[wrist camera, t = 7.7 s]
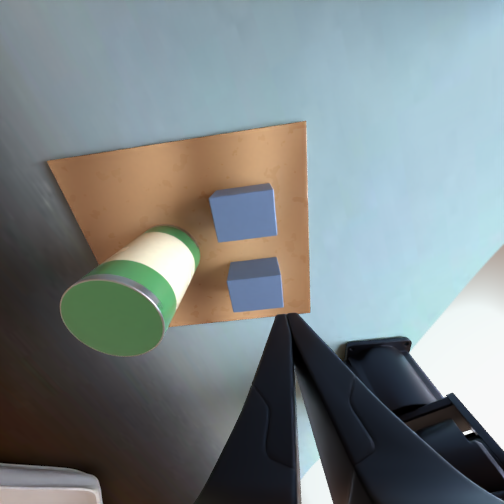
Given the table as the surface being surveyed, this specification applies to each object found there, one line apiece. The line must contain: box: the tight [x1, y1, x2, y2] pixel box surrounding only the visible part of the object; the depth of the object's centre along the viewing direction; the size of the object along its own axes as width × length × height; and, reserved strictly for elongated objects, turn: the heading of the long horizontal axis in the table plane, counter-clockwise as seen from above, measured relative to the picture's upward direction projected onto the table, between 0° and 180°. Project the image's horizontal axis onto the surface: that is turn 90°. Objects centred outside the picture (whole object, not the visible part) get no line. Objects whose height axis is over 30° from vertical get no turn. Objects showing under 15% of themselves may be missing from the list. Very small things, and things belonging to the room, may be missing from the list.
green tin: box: [60, 224, 200, 357], centre depth 14 cm, size 9×5×9 cm
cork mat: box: [47, 121, 310, 327], centre depth 18 cm, size 18×16×1 cm
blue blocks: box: [209, 183, 284, 313], centre depth 16 cm, size 4×9×3 cm, turn 8°
